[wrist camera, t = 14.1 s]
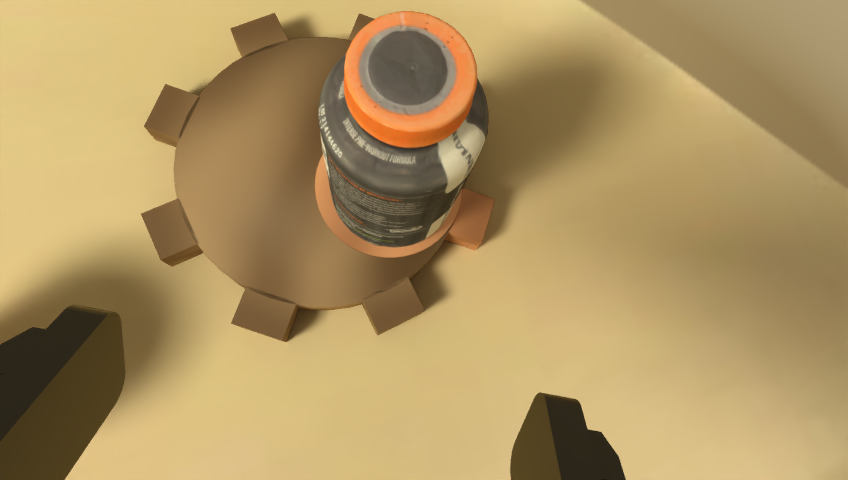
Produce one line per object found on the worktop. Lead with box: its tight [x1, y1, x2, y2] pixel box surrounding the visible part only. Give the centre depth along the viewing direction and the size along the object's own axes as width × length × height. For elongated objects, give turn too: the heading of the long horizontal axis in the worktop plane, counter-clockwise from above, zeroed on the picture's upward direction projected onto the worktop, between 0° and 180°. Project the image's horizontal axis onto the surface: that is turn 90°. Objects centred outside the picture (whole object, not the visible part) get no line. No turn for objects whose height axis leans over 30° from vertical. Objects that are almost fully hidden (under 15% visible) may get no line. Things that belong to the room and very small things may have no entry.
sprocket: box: [141, 13, 495, 342], centre depth 28 cm, size 17×17×2 cm
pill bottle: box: [319, 11, 488, 248], centre depth 22 cm, size 6×6×11 cm
